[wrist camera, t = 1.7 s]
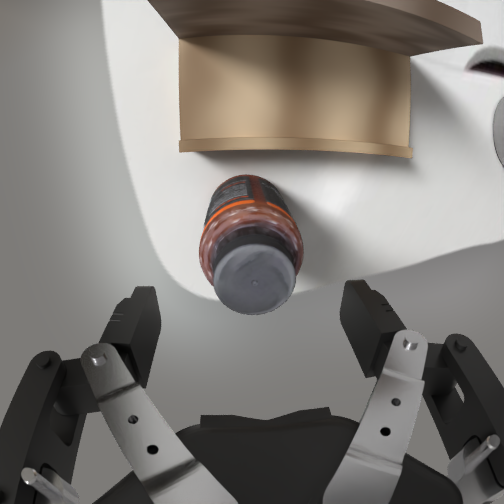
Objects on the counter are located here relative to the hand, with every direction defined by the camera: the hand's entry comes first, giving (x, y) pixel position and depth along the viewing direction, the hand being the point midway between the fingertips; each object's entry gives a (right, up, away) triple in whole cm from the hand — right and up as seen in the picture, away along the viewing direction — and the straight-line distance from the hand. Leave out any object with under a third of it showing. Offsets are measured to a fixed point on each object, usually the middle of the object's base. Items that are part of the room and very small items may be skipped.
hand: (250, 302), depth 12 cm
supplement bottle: (0, +6, +12) cm, 13 cm away
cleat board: (+4, +16, +7) cm, 18 cm away
